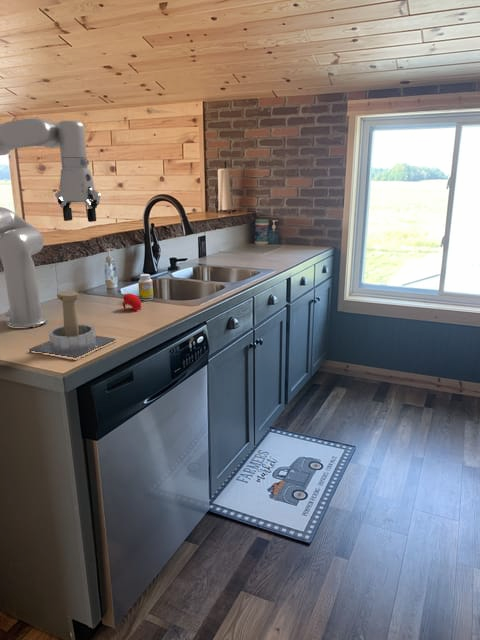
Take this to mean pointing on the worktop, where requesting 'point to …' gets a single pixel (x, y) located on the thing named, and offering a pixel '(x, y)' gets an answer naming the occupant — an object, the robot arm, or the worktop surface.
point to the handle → (69, 312)
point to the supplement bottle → (145, 287)
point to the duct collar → (72, 342)
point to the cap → (132, 301)
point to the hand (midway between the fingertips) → (80, 221)
